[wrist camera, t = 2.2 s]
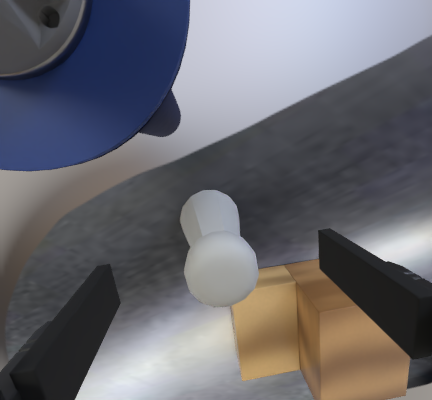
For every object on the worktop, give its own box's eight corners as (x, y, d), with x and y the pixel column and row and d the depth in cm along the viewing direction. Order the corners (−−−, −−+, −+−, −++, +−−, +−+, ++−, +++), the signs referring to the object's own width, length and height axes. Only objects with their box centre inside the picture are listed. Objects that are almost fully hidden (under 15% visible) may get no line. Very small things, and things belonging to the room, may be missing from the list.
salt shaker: (196, 244, 25) (198, 343, 13) (171, 200, 24) (147, 262, 11) (243, 222, 25) (291, 299, 13) (221, 176, 24) (252, 212, 11)
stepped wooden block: (226, 274, 27) (239, 327, 19) (354, 252, 28) (417, 294, 20) (236, 354, 30) (251, 428, 22) (352, 332, 31) (406, 395, 23)
